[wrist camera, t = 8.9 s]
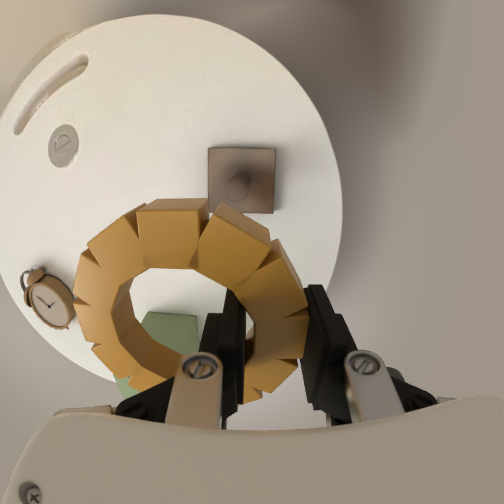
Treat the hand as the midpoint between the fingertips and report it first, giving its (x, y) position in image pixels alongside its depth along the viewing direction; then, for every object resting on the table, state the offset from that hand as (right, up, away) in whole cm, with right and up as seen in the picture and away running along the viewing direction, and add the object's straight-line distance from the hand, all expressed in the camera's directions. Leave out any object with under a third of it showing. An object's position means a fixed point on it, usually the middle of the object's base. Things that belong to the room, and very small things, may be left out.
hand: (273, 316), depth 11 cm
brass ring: (-4, 0, -1) cm, 4 cm away
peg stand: (-2, +13, +26) cm, 29 cm away
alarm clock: (-43, -6, +33) cm, 55 cm away
